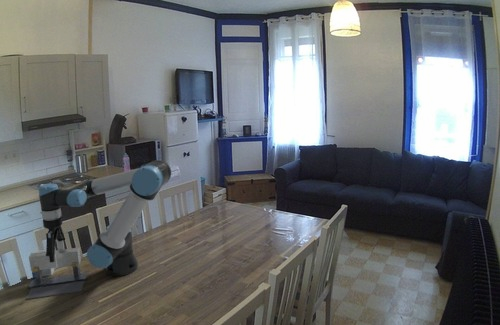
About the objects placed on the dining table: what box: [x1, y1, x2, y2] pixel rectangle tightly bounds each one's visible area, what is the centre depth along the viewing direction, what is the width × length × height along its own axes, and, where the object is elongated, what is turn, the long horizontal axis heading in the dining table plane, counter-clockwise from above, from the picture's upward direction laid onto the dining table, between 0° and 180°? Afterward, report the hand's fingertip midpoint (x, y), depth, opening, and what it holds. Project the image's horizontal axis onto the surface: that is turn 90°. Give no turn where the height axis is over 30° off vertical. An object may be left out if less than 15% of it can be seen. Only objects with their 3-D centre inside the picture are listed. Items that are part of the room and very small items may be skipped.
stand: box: [27, 263, 89, 290], centre depth 159 cm, size 24×6×10 cm, turn 105°
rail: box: [28, 247, 82, 272], centre depth 158 cm, size 20×4×7 cm, turn 105°
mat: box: [25, 280, 86, 301], centre depth 153 cm, size 22×8×1 cm, turn 105°
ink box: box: [29, 249, 55, 279], centre depth 165 cm, size 8×5×12 cm, turn 105°
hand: (57, 260), depth 158 cm, fingers open, 13 cm apart
